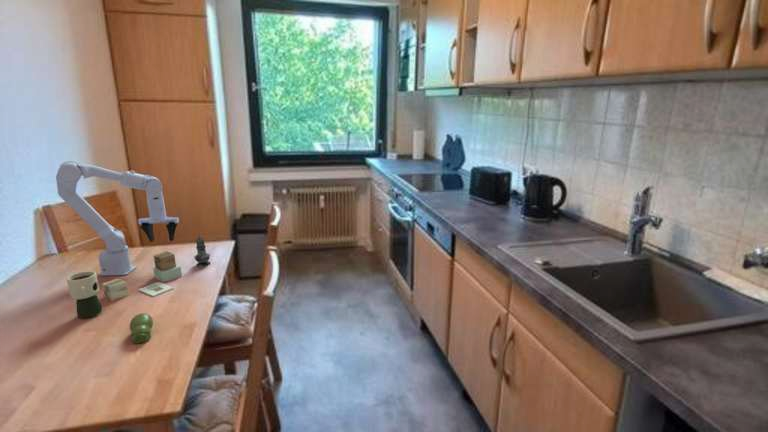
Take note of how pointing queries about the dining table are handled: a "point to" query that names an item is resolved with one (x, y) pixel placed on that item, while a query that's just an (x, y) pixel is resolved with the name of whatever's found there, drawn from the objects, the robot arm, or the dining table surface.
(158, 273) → the base block
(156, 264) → the walnut block
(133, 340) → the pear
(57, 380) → the dining table surface
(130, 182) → the robot arm
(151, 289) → the card
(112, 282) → the ash block
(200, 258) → the dark green chess piece
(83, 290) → the character mug
